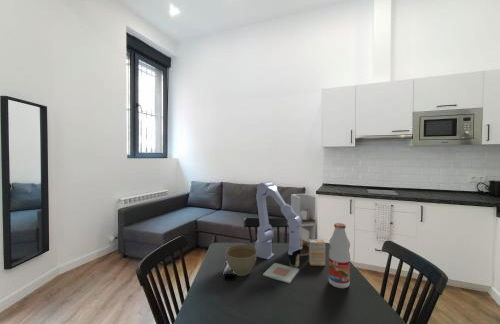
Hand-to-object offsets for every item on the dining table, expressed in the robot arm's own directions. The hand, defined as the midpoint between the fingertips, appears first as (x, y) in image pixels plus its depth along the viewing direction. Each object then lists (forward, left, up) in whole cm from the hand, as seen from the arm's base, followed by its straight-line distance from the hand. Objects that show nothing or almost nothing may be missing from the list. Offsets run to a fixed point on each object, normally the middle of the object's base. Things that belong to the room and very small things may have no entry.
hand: (294, 263), depth 129 cm
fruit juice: (+24, -6, -2) cm, 25 cm away
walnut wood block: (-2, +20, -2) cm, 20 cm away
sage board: (-3, -11, -1) cm, 11 cm away
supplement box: (+10, +8, -2) cm, 13 cm away
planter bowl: (-21, -20, -2) cm, 29 cm away
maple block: (0, 0, -1) cm, 1 cm away
